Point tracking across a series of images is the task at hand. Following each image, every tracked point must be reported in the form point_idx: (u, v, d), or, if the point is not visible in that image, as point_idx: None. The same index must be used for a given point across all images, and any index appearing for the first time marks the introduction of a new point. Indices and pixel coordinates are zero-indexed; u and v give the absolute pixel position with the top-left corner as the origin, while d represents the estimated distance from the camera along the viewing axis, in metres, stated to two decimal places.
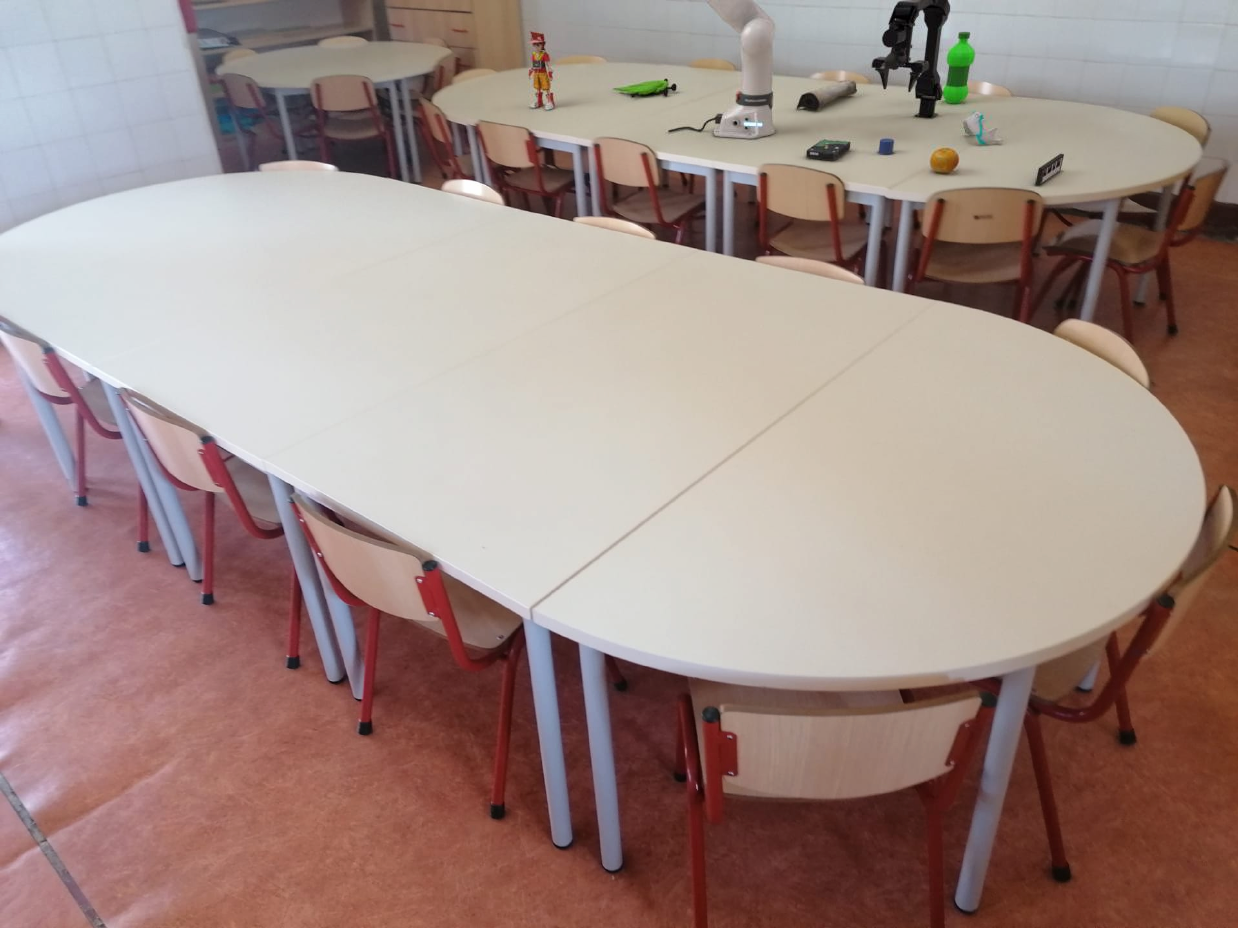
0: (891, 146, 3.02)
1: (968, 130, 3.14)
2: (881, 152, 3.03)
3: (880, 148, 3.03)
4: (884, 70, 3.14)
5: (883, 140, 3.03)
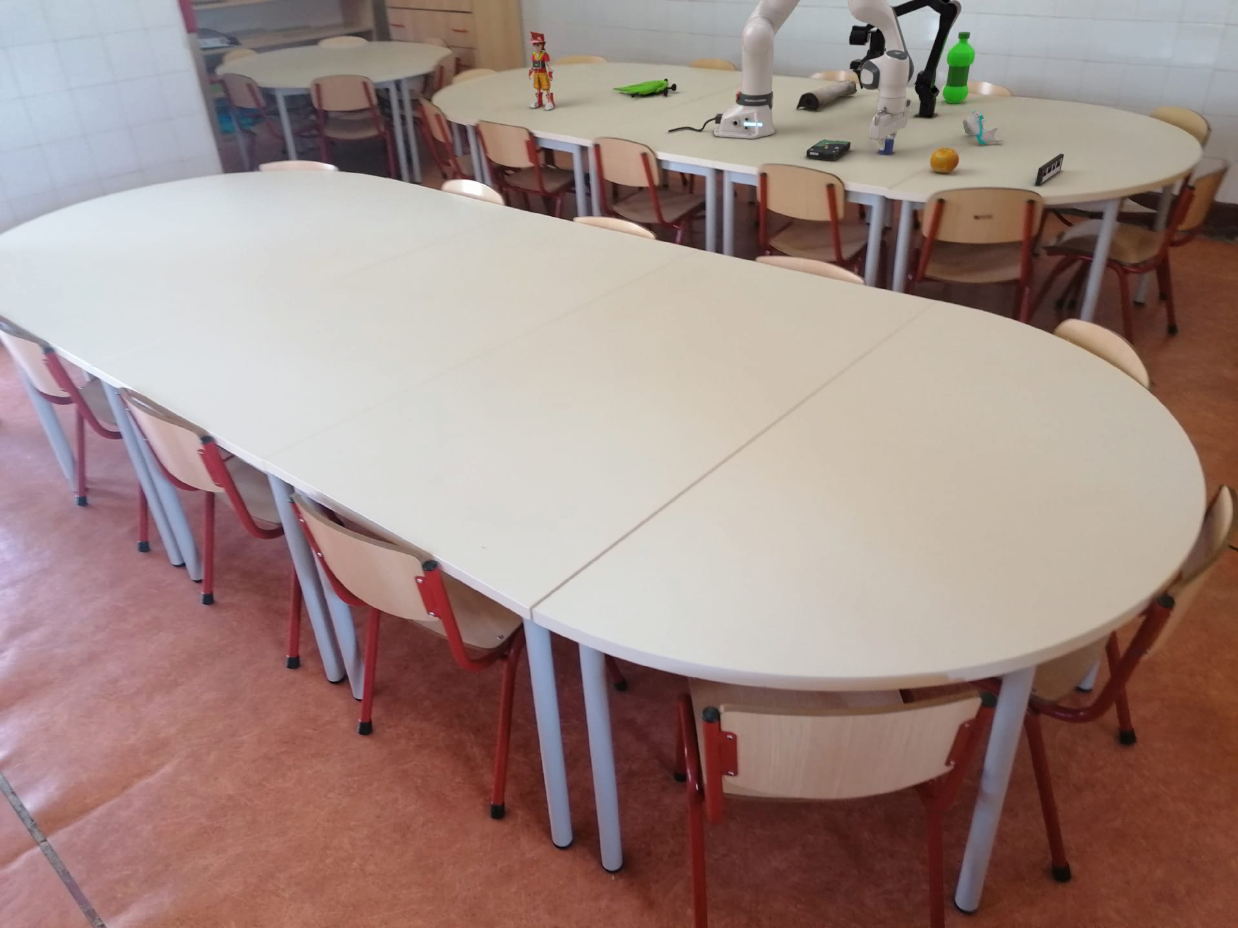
0: (891, 146, 3.02)
1: (968, 130, 3.14)
2: (881, 152, 3.03)
3: None
4: None
5: None
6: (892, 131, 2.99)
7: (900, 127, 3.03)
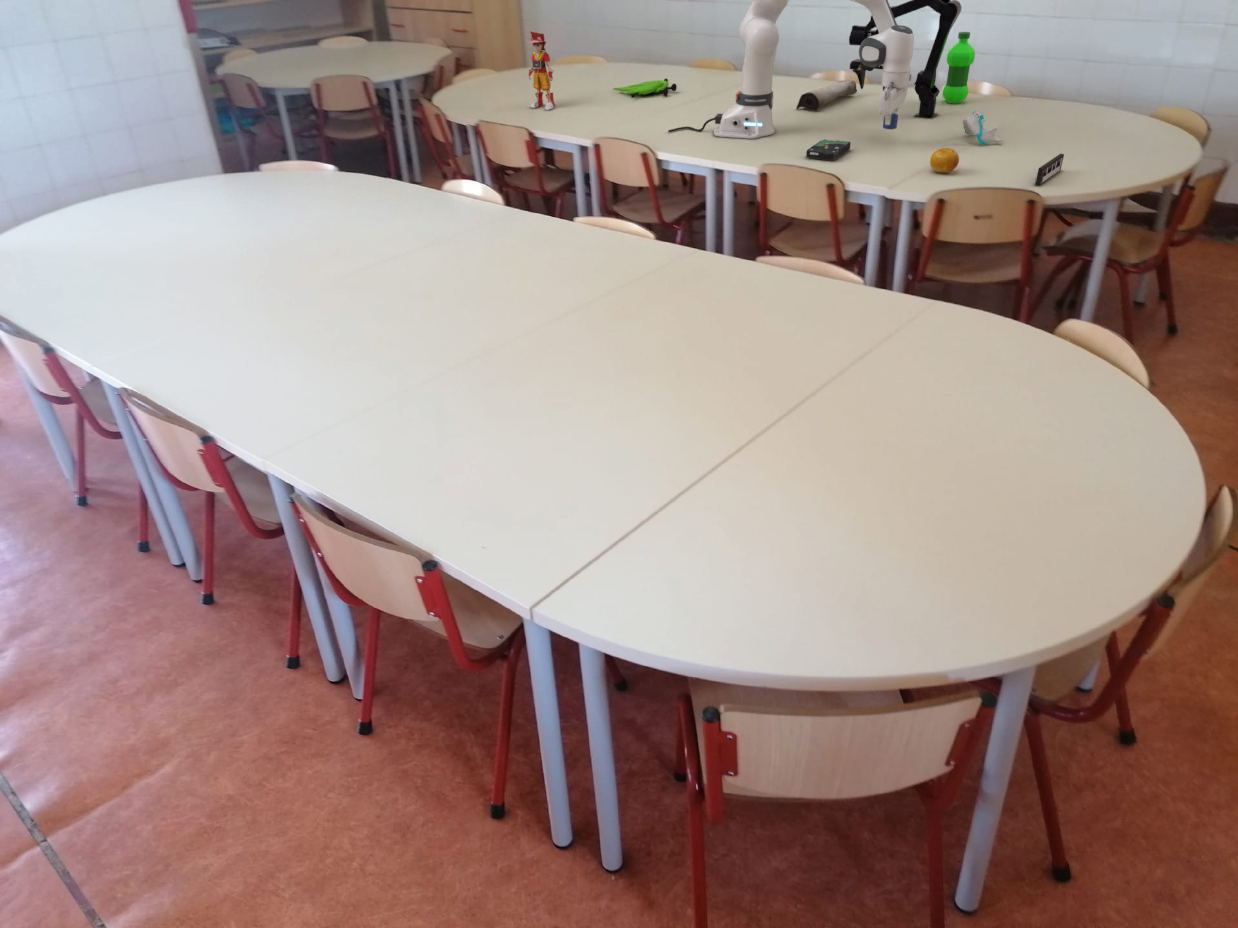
0: (896, 121, 3.06)
1: (968, 130, 3.14)
2: (886, 127, 3.07)
3: None
4: (861, 71, 3.44)
5: None
6: (897, 106, 3.04)
7: (901, 102, 3.08)
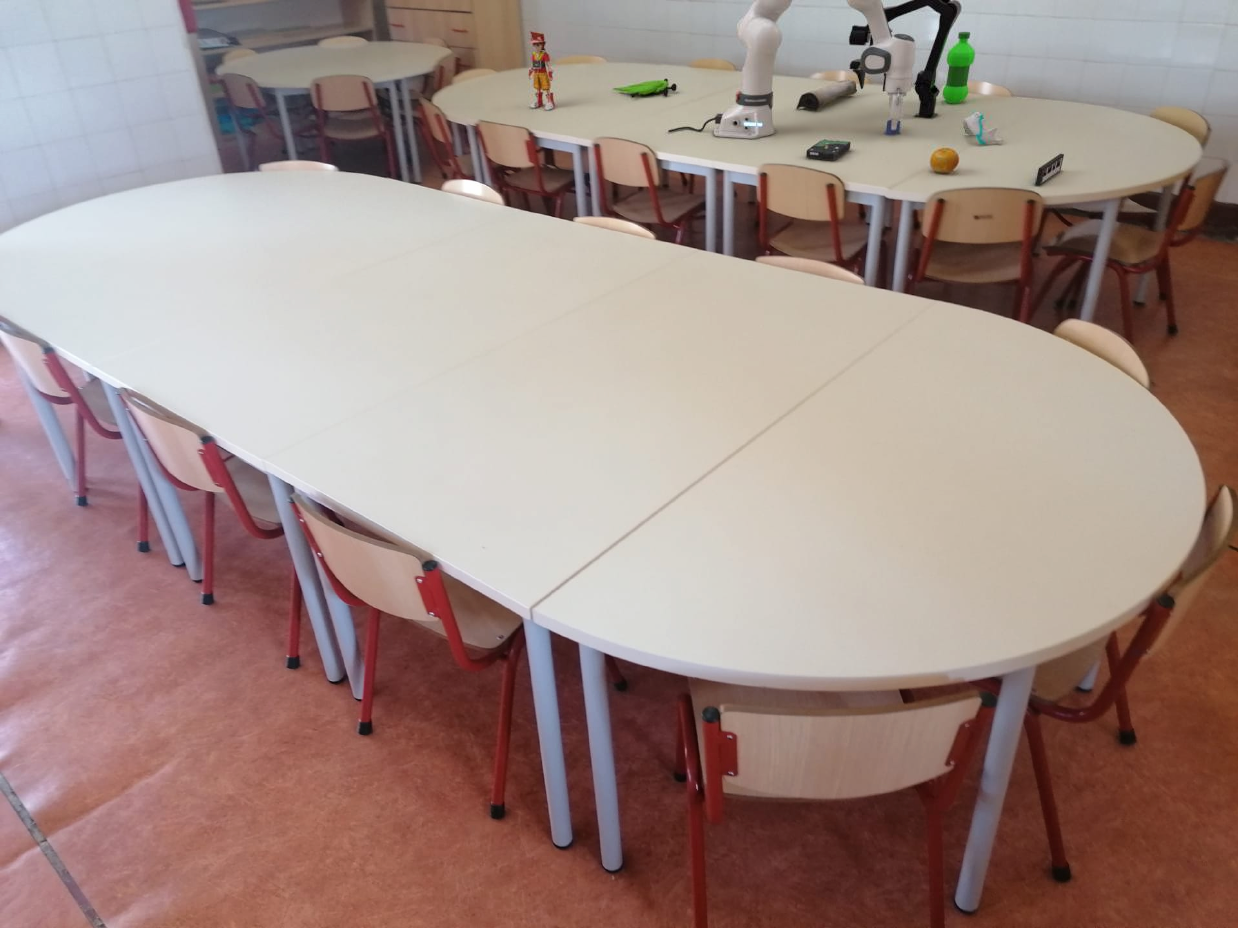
0: (899, 126, 3.21)
1: (968, 130, 3.14)
2: (891, 133, 3.22)
3: (890, 129, 3.21)
4: (861, 71, 3.44)
5: (891, 122, 3.21)
6: None
7: None
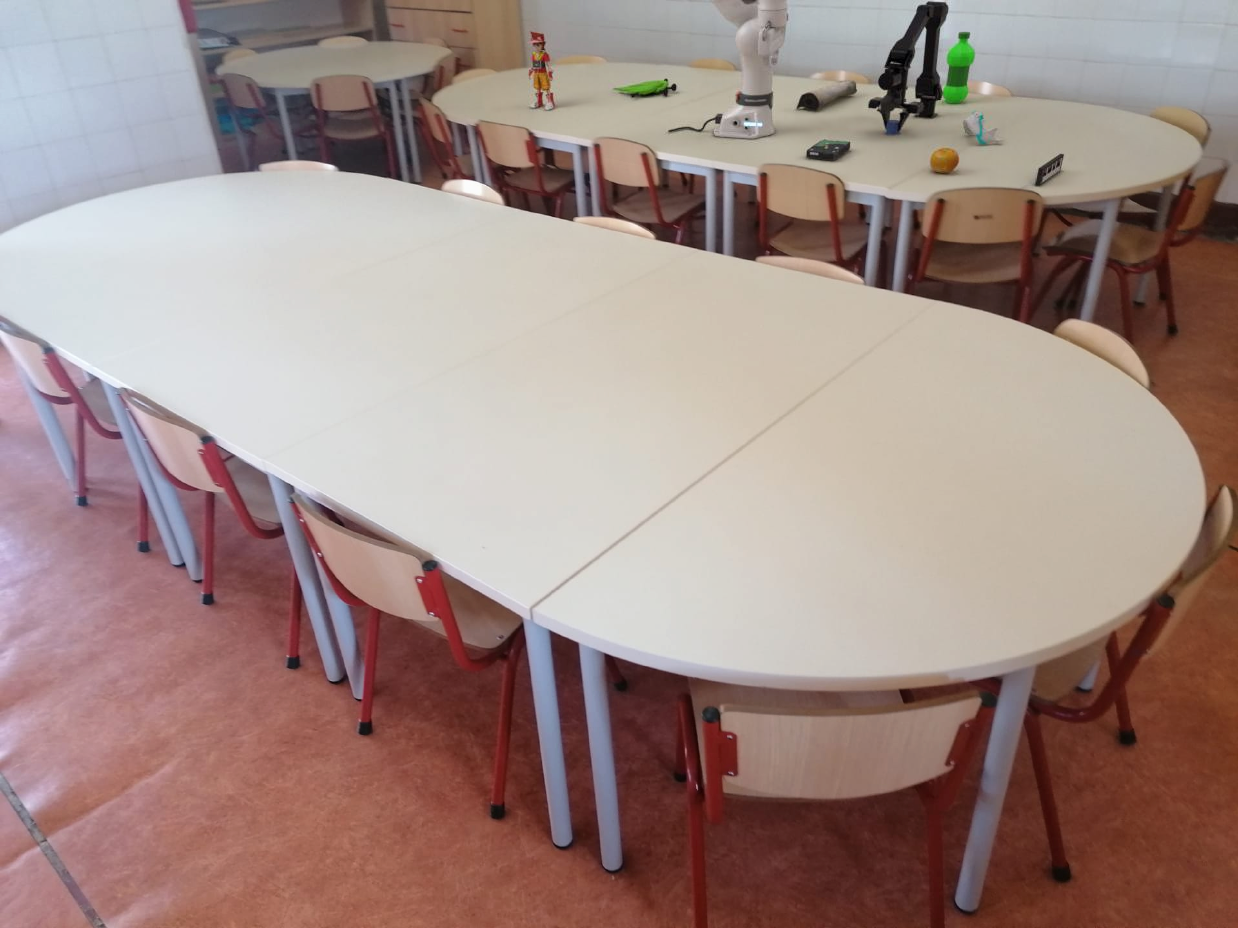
0: None
1: (968, 130, 3.14)
2: (891, 133, 3.22)
3: (890, 129, 3.21)
4: (886, 111, 3.21)
5: (891, 122, 3.21)
6: (776, 48, 2.78)
7: (780, 45, 2.83)
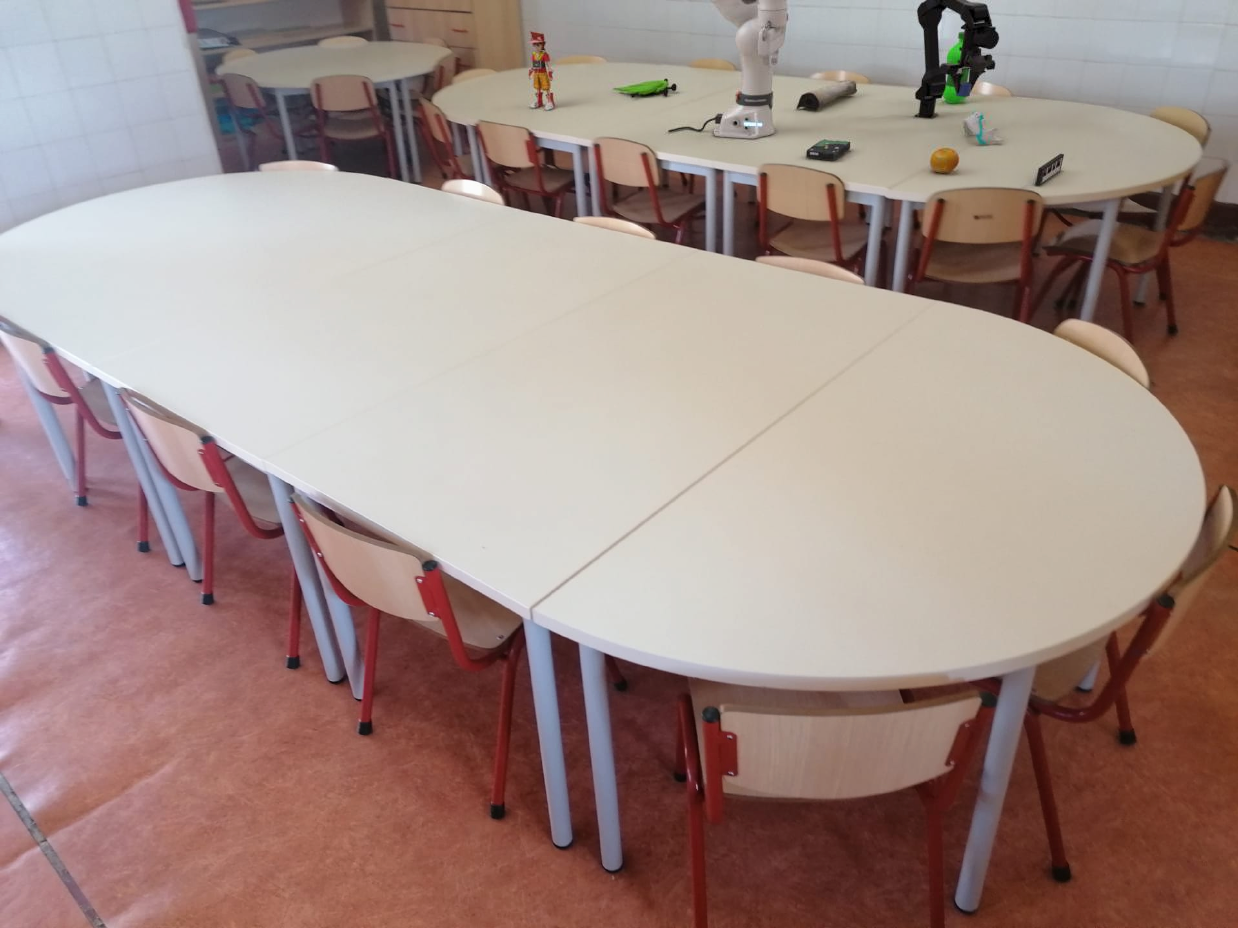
0: None
1: (968, 130, 3.14)
2: (968, 94, 3.17)
3: (967, 91, 3.17)
4: None
5: (965, 84, 3.16)
6: (776, 48, 2.78)
7: (780, 45, 2.83)
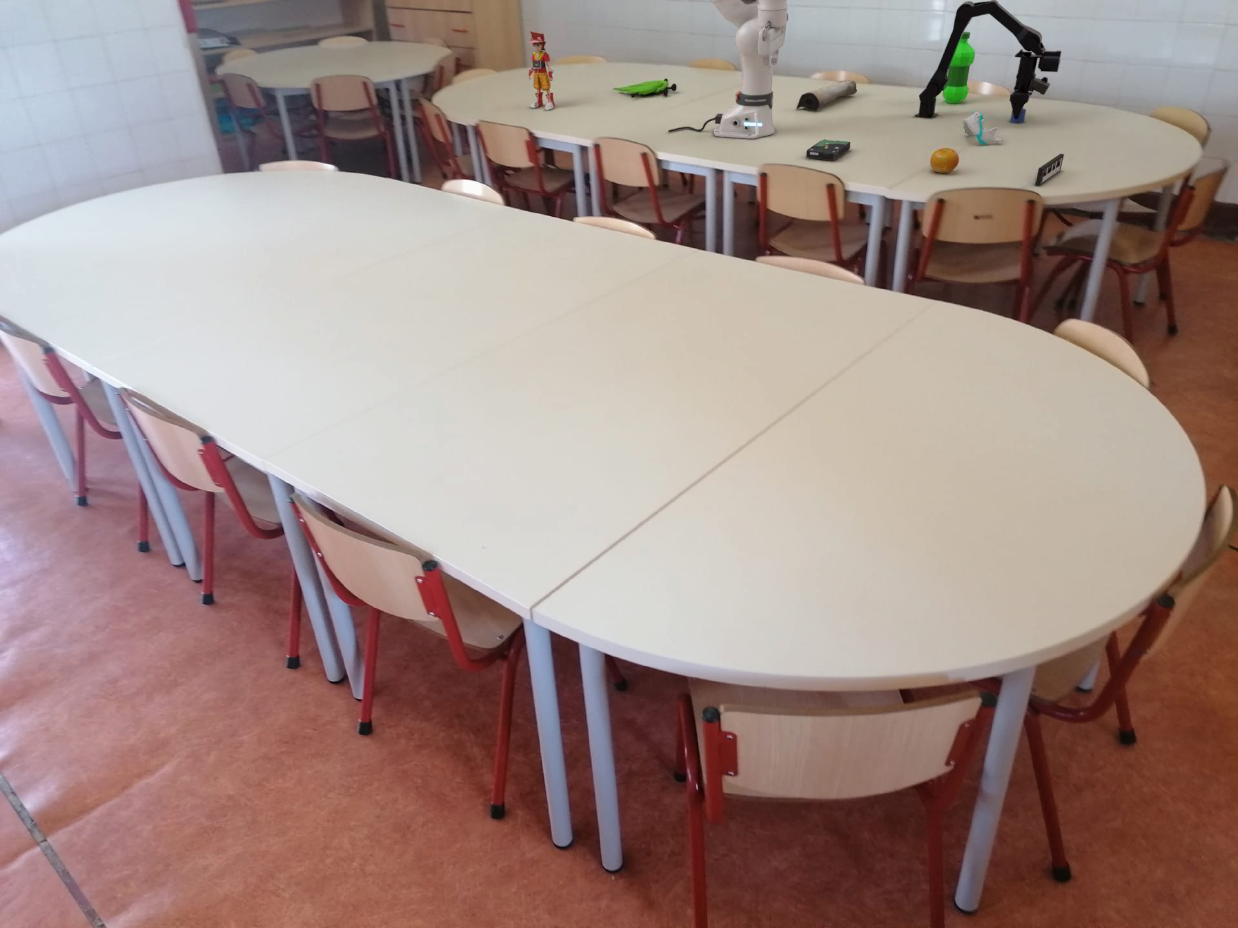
0: None
1: (968, 130, 3.14)
2: None
3: (1024, 117, 3.26)
4: None
5: (1022, 110, 3.24)
6: (776, 48, 2.78)
7: (780, 45, 2.83)
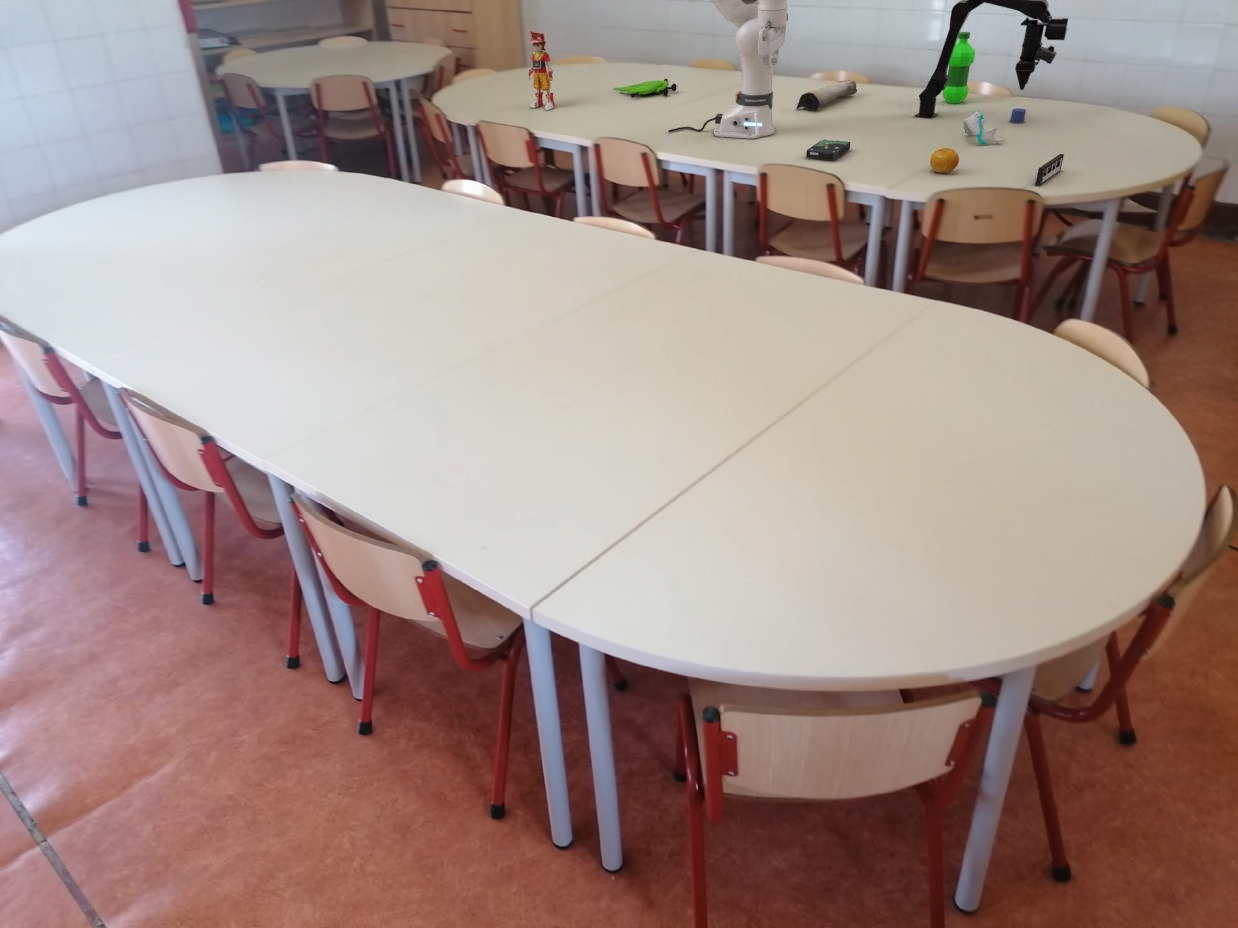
0: None
1: (968, 130, 3.14)
2: None
3: (1024, 117, 3.26)
4: None
5: (1022, 110, 3.24)
6: (776, 48, 2.78)
7: (780, 45, 2.83)
